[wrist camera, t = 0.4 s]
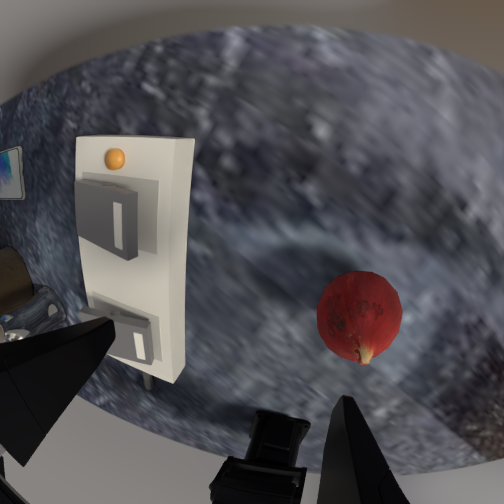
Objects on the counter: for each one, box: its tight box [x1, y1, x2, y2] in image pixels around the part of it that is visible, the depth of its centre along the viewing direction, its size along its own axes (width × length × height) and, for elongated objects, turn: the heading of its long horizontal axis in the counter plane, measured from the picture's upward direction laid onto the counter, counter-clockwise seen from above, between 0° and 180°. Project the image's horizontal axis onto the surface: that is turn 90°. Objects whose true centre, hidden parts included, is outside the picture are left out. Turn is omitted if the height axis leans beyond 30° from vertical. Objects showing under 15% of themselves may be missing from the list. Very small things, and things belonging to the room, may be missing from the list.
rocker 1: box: [74, 179, 138, 261], centre depth 19 cm, size 5×7×2 cm, turn 83°
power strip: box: [76, 135, 195, 390], centre depth 25 cm, size 30×10×4 cm, turn 173°
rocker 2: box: [79, 306, 154, 365], centre depth 24 cm, size 5×7×2 cm, turn 83°
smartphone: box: [0, 146, 25, 200], centre depth 28 cm, size 7×1×15 cm
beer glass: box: [0, 286, 66, 343], centre depth 26 cm, size 7×7×15 cm
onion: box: [317, 271, 403, 365], centre depth 17 cm, size 6×6×8 cm
